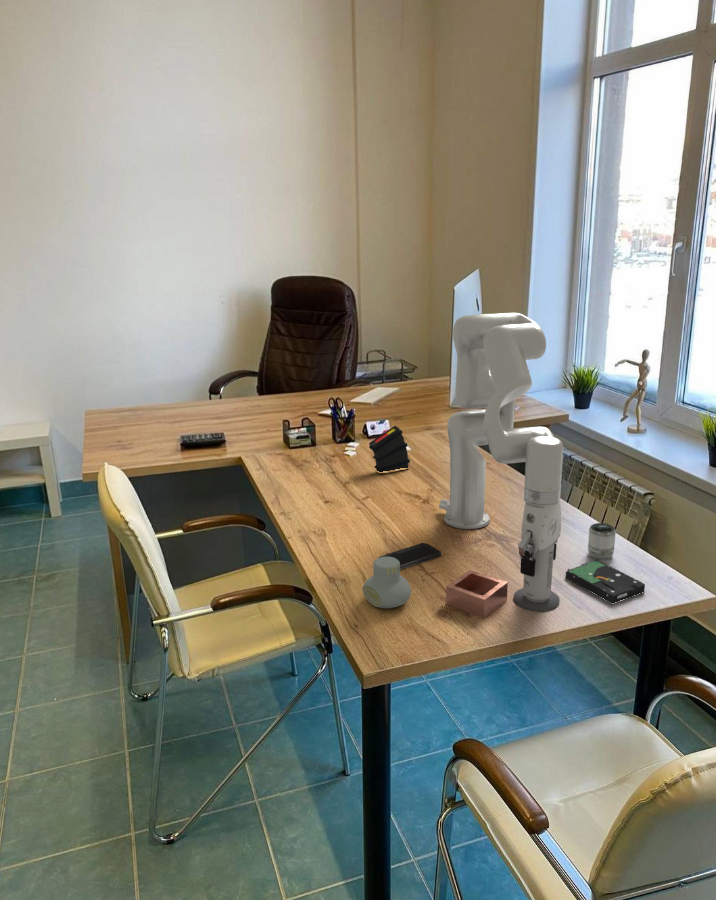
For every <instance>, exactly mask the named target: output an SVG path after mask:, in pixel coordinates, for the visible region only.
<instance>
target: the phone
mask: <svg viewBox="0 0 716 900" xmlns="http://www.w3.org/2000/svg"><path fill="white" fill-rule="evenodd" d="M441 556H442V551H441V550H439V549H437V548H436V547H434V546H432V545H430V544H429V543H426V542H421V543H418V544H415V545H414V544H413V545H411V546H408V547H405V548H401V549H399V550H396V551H392V552H389V553H385V554H383V555H380V556H378V558H380V557H393V558H396V559H397V560H398V561H399V562H400V571H402V570H404V569H407V568H410V567H413V566H416V565H419V564H422V563H425V562H429V561H433V560H434V559H438V558H441Z"/></svg>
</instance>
